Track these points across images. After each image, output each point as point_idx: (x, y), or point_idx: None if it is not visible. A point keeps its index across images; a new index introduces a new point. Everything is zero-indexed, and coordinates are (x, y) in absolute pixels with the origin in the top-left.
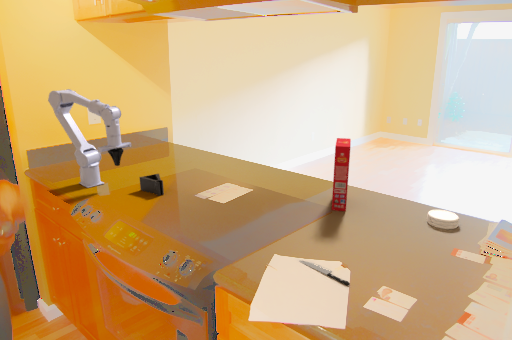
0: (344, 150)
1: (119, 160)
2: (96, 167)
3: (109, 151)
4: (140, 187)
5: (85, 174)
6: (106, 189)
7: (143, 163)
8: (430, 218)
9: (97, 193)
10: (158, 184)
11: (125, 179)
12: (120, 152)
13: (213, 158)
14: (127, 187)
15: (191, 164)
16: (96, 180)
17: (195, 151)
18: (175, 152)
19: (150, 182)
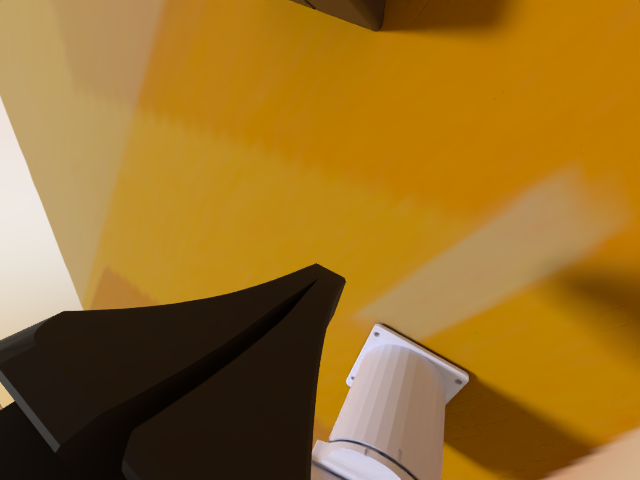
0: None
1: (283, 286)
2: (373, 437)
3: None
4: (375, 16)
5: (441, 454)
6: (451, 266)
7: (166, 301)
8: None
9: (556, 276)
10: None
11: (286, 266)
12: (128, 352)
13: (25, 121)
14: (369, 171)
15: (77, 142)
16: (406, 366)
17: (55, 222)
18: (88, 268)
19: None
